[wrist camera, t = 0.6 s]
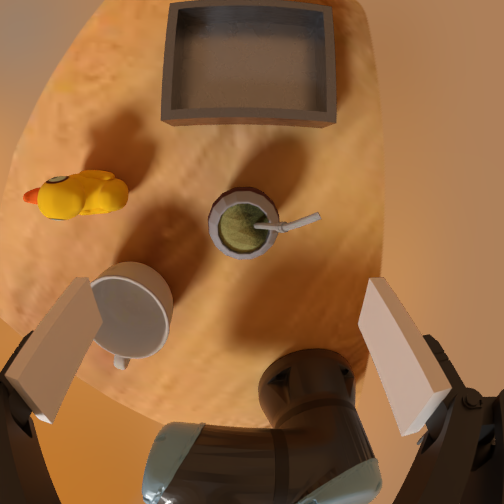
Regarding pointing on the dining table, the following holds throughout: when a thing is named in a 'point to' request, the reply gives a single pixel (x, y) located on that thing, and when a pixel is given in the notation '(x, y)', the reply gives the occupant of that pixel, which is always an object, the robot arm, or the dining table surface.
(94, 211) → the duckling
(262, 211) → the mate gourd
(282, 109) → the tray
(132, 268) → the teacup
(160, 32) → the dining table surface
